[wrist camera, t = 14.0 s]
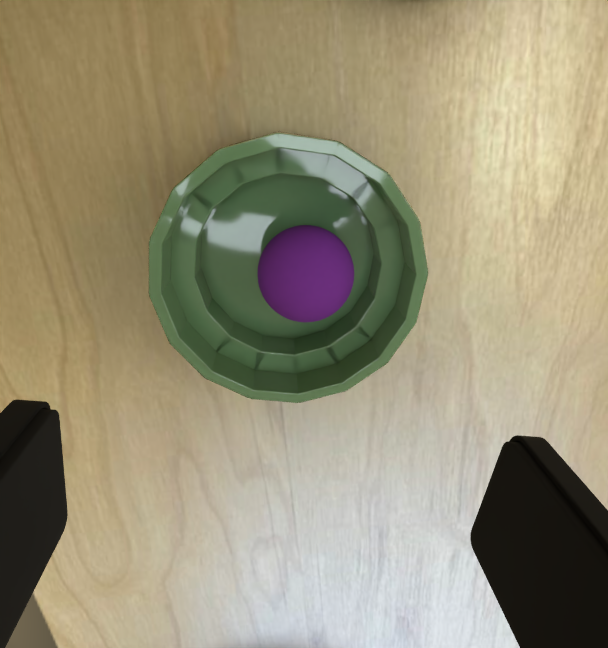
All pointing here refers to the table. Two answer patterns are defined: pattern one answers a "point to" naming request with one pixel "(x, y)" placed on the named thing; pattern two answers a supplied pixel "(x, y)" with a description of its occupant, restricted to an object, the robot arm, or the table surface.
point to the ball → (305, 273)
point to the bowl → (244, 254)
